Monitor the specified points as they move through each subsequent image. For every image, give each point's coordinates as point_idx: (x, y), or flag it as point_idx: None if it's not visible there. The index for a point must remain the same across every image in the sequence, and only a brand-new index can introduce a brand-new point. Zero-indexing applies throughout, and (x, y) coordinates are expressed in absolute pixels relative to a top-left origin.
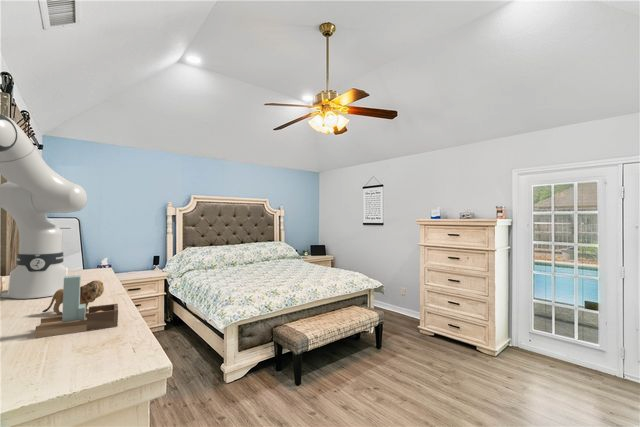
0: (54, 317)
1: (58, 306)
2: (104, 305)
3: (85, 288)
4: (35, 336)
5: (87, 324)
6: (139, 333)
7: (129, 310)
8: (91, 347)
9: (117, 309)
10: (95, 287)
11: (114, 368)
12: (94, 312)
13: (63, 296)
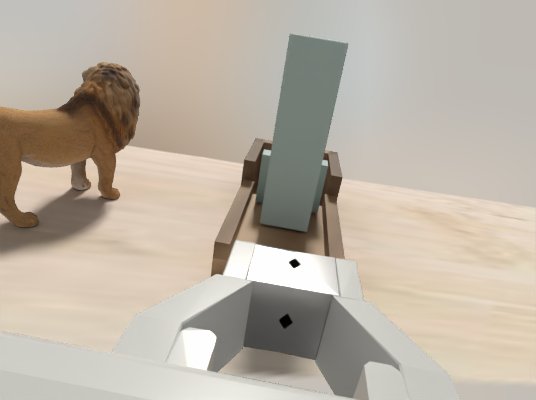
0: (233, 221)
1: (14, 192)
2: (257, 148)
3: (113, 97)
4: None
5: None
6: (404, 193)
7: (187, 158)
8: (480, 245)
9: (326, 151)
10: (136, 92)
11: None
12: (332, 169)
13: (329, 127)
